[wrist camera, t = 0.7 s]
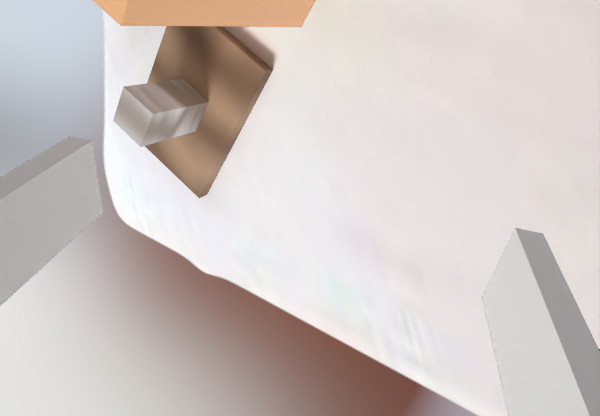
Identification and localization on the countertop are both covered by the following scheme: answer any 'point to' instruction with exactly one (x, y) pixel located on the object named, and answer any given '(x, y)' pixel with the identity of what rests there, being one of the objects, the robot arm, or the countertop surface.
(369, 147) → the countertop surface
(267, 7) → the tall wooden block
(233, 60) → the post board
